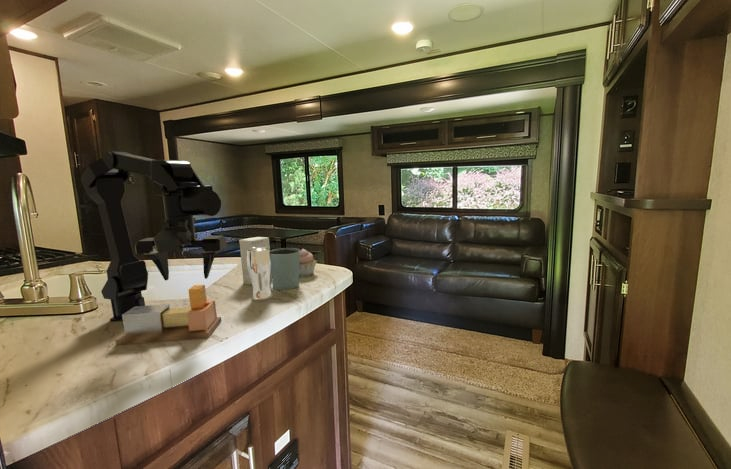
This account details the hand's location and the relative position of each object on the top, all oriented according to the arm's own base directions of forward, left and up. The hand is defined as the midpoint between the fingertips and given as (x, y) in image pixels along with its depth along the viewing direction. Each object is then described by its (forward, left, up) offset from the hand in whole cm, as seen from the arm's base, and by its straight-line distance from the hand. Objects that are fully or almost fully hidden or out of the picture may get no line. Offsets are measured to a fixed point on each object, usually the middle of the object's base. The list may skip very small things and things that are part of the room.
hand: (186, 279), depth 81 cm
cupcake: (+24, +40, -13) cm, 49 cm away
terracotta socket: (+4, -3, -11) cm, 12 cm away
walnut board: (-4, -3, -12) cm, 13 cm away
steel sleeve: (-9, -3, -11) cm, 14 cm away
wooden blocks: (-2, -3, -10) cm, 11 cm away
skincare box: (+8, +35, -13) cm, 38 cm away
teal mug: (+19, +28, -13) cm, 37 cm away
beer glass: (+13, +18, -12) cm, 26 cm away
